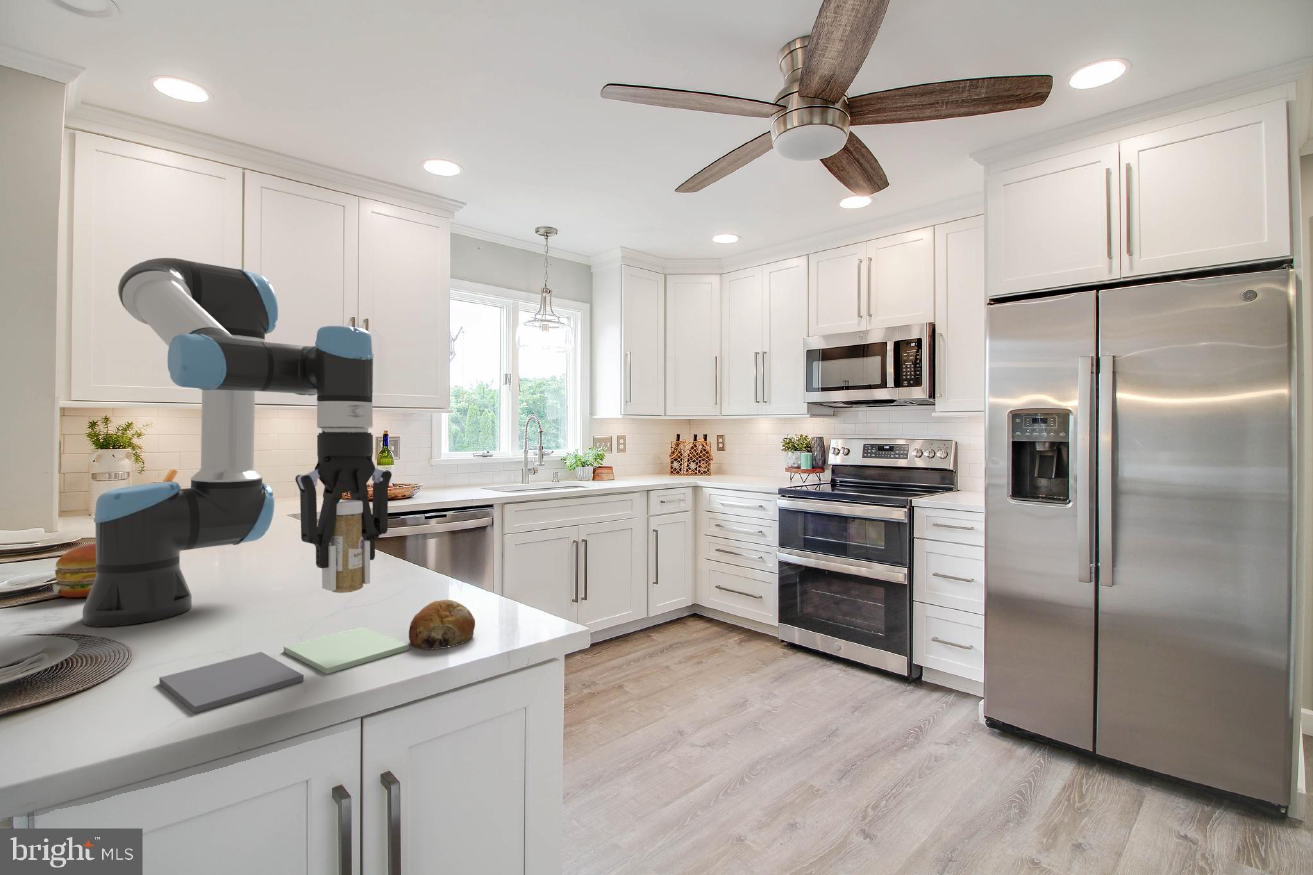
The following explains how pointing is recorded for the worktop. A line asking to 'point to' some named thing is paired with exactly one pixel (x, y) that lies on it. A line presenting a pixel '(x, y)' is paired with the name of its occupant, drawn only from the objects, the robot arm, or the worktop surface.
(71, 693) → the worktop surface
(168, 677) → the pad
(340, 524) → the spice jar
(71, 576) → the burger
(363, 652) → the pad
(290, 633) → the worktop surface
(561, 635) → the worktop surface
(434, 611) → the bread roll
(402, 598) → the worktop surface
